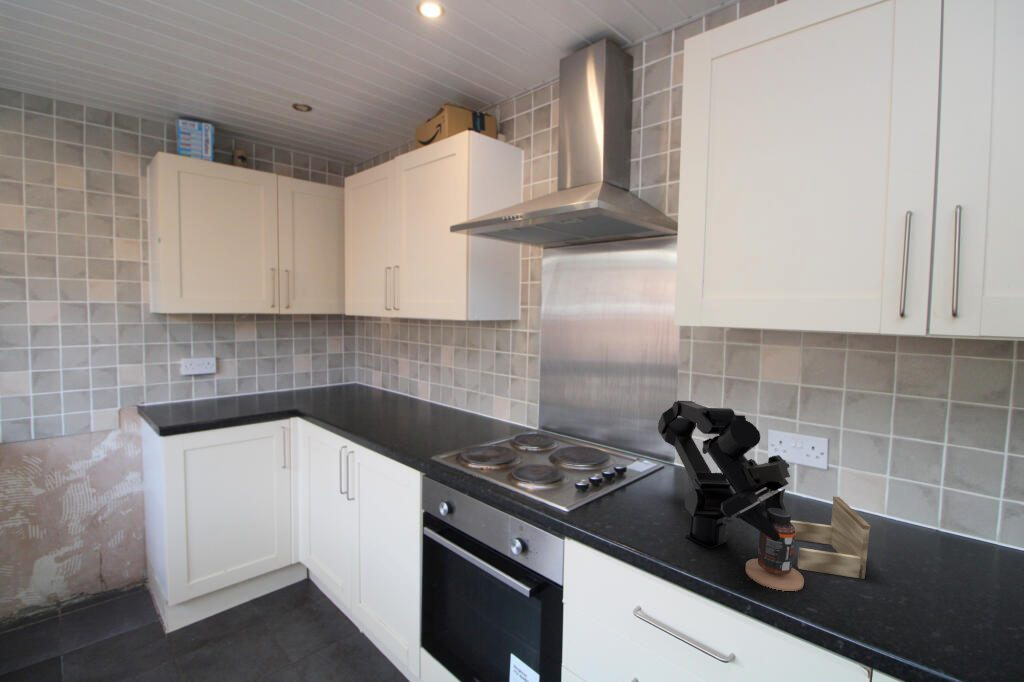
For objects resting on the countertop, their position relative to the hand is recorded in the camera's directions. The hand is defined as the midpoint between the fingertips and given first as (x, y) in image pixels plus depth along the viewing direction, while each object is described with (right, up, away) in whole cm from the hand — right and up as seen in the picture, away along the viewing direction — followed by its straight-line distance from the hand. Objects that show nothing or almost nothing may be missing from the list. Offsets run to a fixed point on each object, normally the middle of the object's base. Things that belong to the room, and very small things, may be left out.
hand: (784, 535), depth 93 cm
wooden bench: (+13, -9, +11) cm, 19 cm away
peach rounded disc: (-1, -9, +2) cm, 9 cm away
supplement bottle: (-1, -7, +2) cm, 7 cm away
